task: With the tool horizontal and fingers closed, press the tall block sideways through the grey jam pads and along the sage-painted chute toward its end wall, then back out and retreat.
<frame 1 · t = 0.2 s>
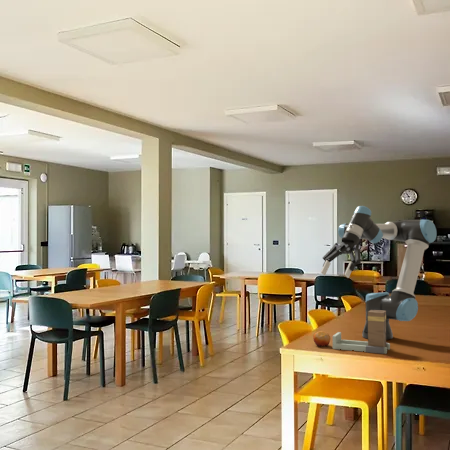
hand: (334, 275, 246), 36 cm above the table, tool tilted 35°, fingers open, 13 cm apart
fruit: (321, 346, 265), on the table
chute: (361, 348, 258), on the table
block: (377, 330, 255), point 9 cm above the table, slide at 0.0 cm
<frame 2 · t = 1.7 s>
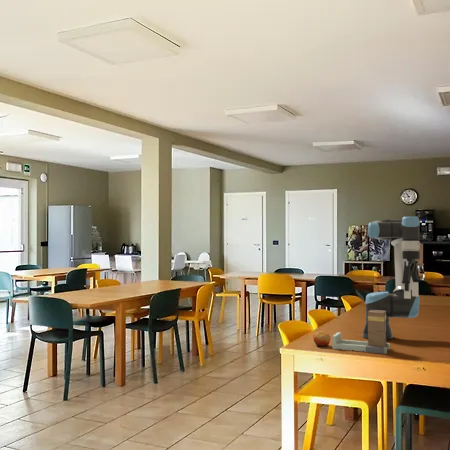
hand: (411, 297, 249), 25 cm above the table, tool pointing down, fingers open, 13 cm apart
nothing on the table moved.
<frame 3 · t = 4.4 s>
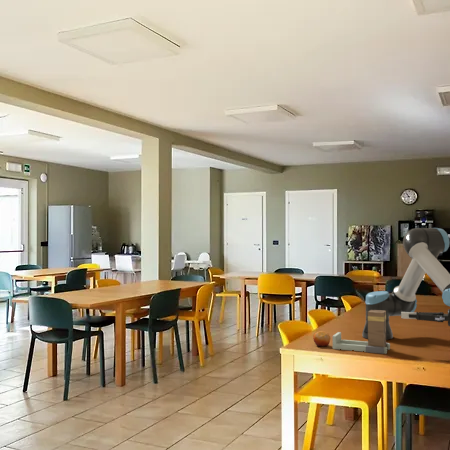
hand: (401, 315, 250), 17 cm above the table, tool horizontal, fingers closed
nothing on the table moved.
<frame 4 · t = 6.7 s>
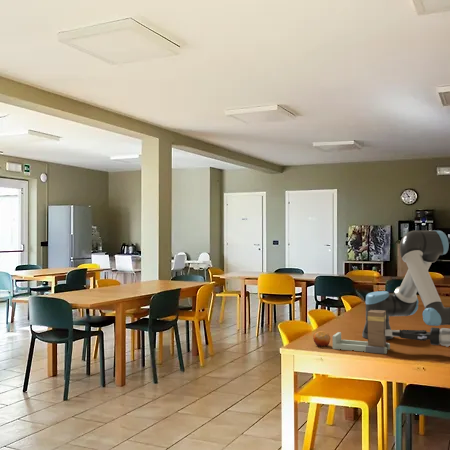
hand: (385, 332, 253), 8 cm above the table, tool horizontal, fingers closed
block: (376, 330, 255), point 9 cm above the table, slide at 0.1 cm, touching gripper
everything else where it was.
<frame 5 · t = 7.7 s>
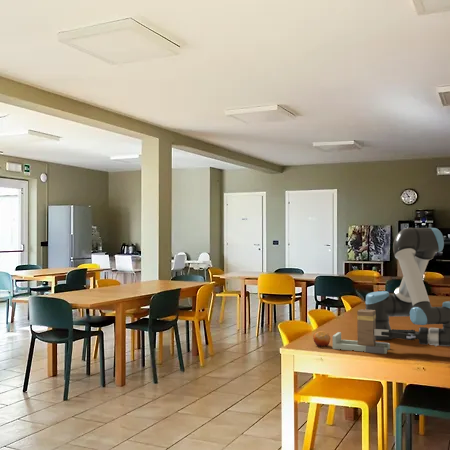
hand: (374, 332, 255), 8 cm above the table, tool horizontal, fingers closed
block: (366, 329, 257), point 9 cm above the table, slide at 4.8 cm, touching gripper
everything else where it was.
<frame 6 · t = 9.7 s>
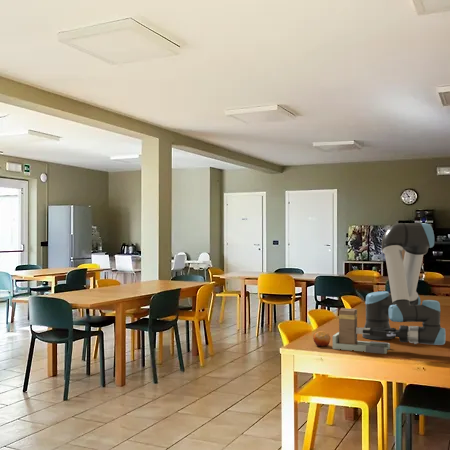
hand: (356, 330, 259), 8 cm above the table, tool horizontal, fingers closed
block: (348, 328, 261), point 9 cm above the table, slide at 13.3 cm, touching gripper
everything else where it was.
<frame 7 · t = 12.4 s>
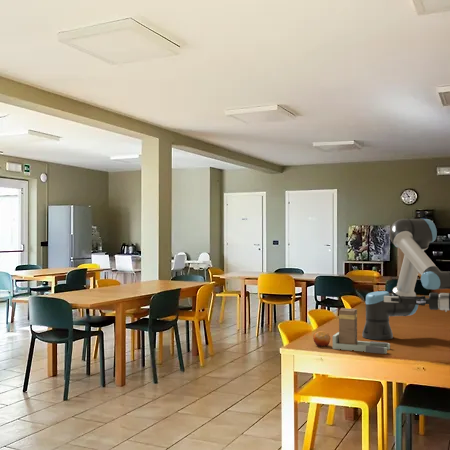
hand: (384, 298, 254), 24 cm above the table, tool horizontal, fingers closed
block: (348, 328, 261), point 9 cm above the table, slide at 13.3 cm
everything else where it was.
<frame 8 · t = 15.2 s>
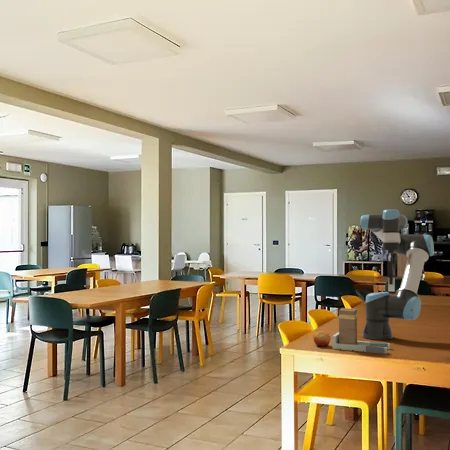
hand: (391, 291, 263), 26 cm above the table, tool pointing down, fingers closed
nothing on the table moved.
at the end: block slide at 13.3 cm; block inside the target area (0.3 cm from its centre), resting in chute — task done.
